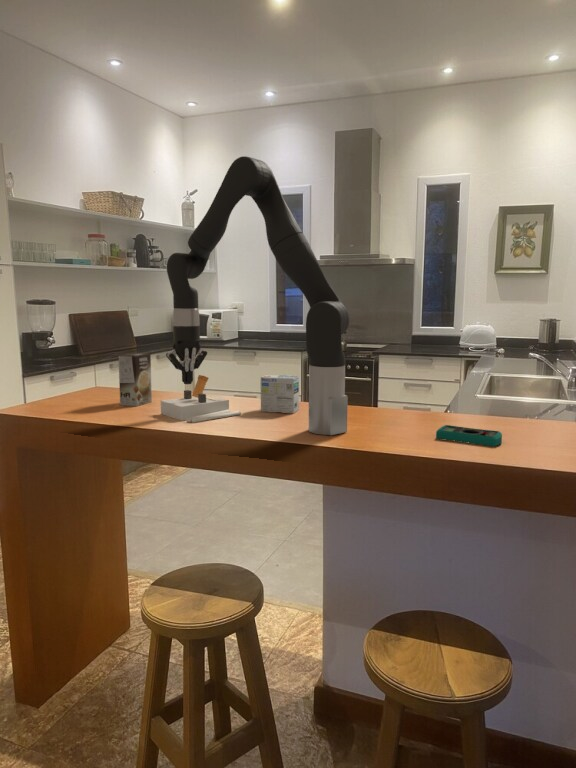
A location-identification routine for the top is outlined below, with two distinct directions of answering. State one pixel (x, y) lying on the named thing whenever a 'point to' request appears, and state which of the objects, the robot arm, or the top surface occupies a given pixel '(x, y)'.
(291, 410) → the light bulb box
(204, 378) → the lever
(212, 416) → the light grey rod
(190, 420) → the pale grey thin bar
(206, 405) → the box
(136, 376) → the coffee box
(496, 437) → the digital multimeter
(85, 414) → the top surface
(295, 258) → the robot arm
